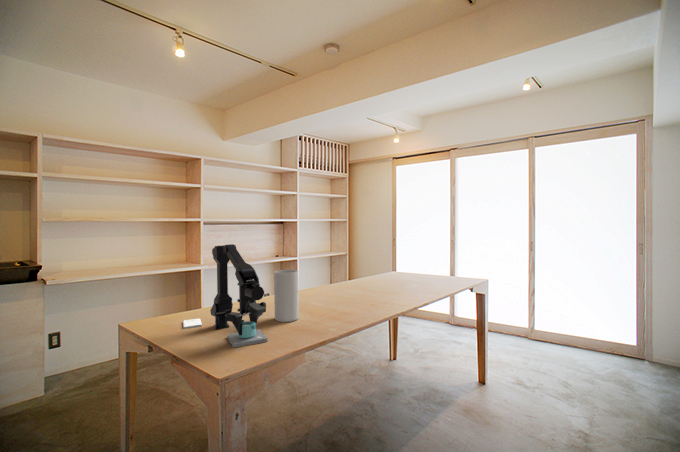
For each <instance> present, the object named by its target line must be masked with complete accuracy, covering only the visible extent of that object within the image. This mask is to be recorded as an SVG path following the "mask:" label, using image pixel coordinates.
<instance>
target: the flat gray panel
mask: <svg viewBox="0 0 680 452" xmlns="http://www.w3.org/2000/svg"><path fill="white" fill-rule="evenodd" d="M227 339H228V341H229V343H230V345H231V347H232V348H233V349H235V347H236V348H240V347H245V346H251V345H257V344H263V343H268V337H267V336H266V334H264V333H263V332H262V331H261V329H260V328H258V329H257V328H256V335H255V336H253V337H249V338H240V337H239V336H238V332H235V333H234V332H233V333H227Z"/></svg>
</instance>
